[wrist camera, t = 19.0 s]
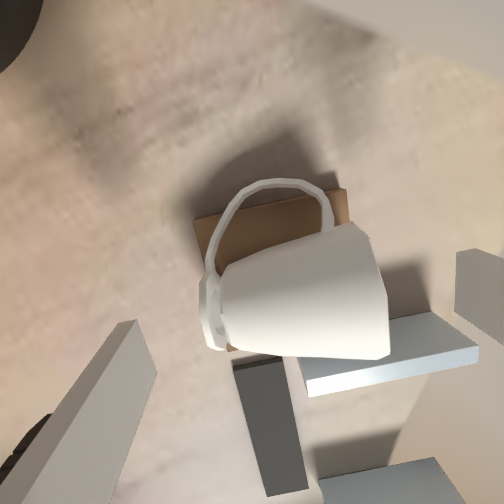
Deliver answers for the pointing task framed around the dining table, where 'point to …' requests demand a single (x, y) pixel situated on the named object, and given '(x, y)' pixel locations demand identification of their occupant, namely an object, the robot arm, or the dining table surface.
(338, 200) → the trivet
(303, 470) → the mat
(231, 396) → the dining table surface
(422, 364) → the channel
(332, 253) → the cup
